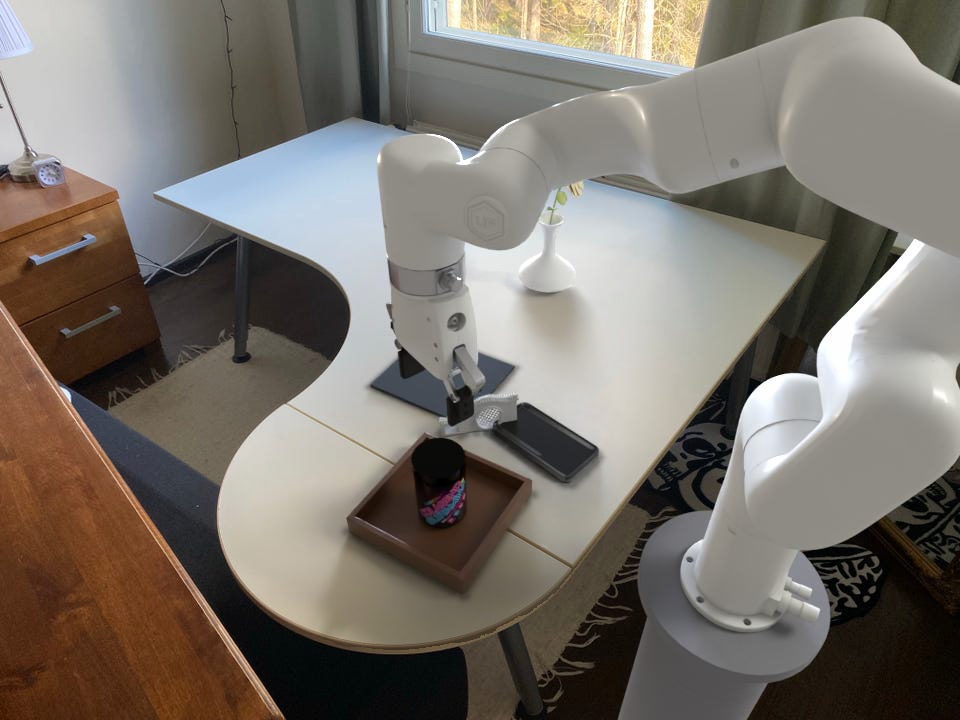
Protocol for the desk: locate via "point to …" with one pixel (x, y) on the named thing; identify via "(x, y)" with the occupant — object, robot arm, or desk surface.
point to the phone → (547, 442)
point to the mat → (439, 384)
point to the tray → (448, 550)
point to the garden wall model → (501, 403)
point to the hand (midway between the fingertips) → (436, 395)
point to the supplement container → (440, 482)
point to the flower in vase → (550, 252)
